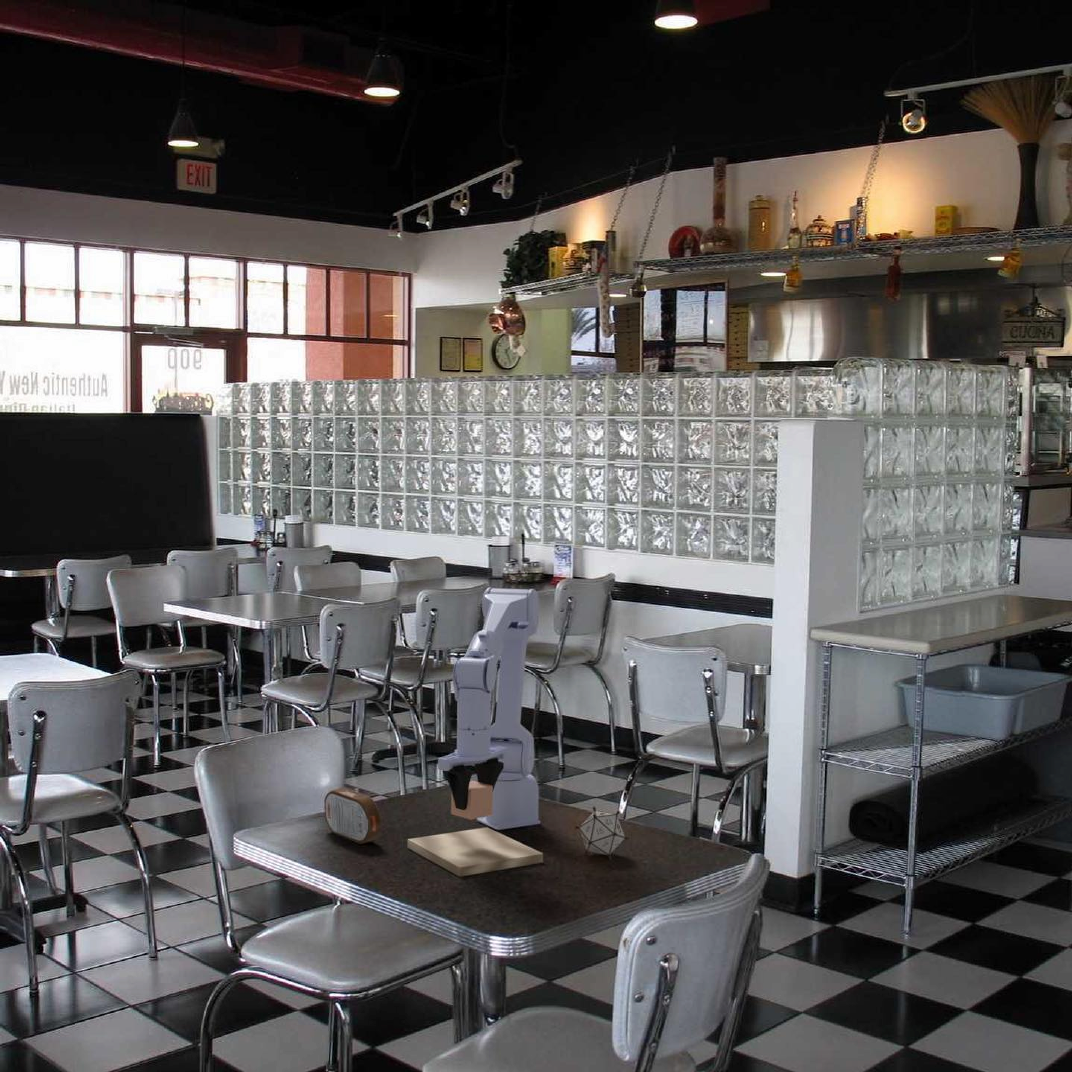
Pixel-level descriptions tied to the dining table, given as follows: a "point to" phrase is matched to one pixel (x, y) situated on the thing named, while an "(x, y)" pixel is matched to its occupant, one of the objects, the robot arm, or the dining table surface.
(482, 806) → the terracotta cube
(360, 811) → the tin
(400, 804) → the dining table surface
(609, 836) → the game die
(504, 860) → the maple board
